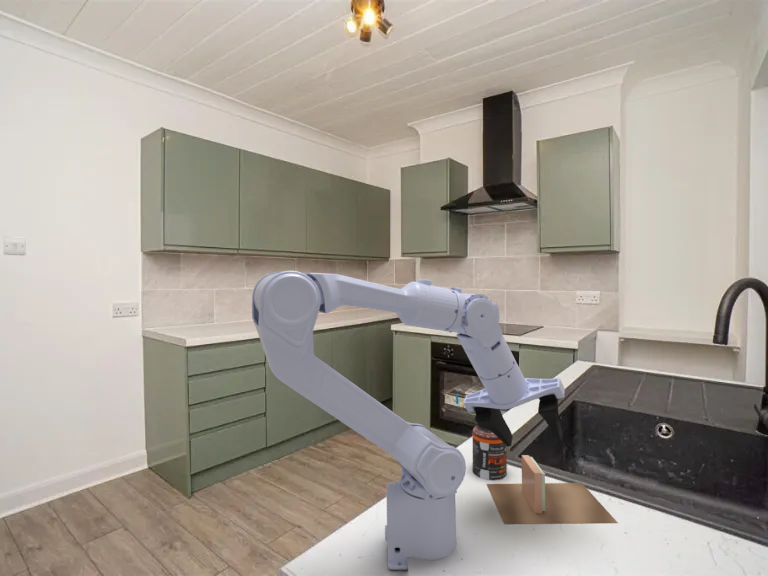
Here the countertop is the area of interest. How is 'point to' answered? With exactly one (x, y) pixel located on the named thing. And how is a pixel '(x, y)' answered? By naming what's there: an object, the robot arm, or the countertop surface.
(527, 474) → the tile
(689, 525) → the countertop surface
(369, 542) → the countertop surface
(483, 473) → the supplement bottle
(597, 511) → the board
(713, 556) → the countertop surface
